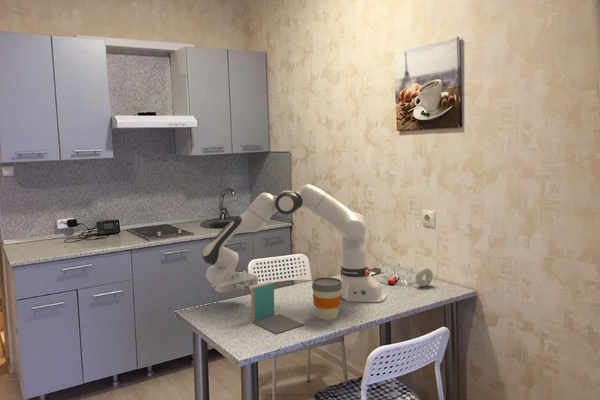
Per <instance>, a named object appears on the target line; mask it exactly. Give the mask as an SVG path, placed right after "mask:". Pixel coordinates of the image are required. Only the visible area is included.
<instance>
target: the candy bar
mask: <svg viewBox="0 0 600 400" xmlns="http://www.w3.org/2000/svg"><path fill="white" fill-rule="evenodd" d="M396 279H397V278H396V277H394V276H393V273H392V274H391V276H389V278H388V280H387V284H388V283H389V285H391V284H394V283H395V281H396ZM396 282H397V281H396ZM395 284H396V283H395ZM395 284H394V285H395Z"/></svg>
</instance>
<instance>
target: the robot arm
mask: <svg viewBox="0 0 600 400" xmlns="http://www.w3.org/2000/svg"><path fill="white" fill-rule="evenodd" d="M300 208H306V209H307V210H309V211H310V212H311V213H313V214H314V215H316V216H317V217H319V218H320V219H322V220H323V221H324V222H326V223H328V224H329V225H330V226H331V227H332V228H334V229H335V230H336V231H337V232H338V233H340V234H341V265H340V278H341V279H340V280H341V282H342V289H341V299H344V300H345V301H347V302H353V303H357V302H358V303H359V302H360V303H382V302H384V301H385V300H386V299H387V297H388V296H387V293H386V292H384V291H382V285H381V283H380V282H379V280H377V279H376V278H374V276H371V275H369V274H370V269H371V268H370V267H367V266H366V232H367V225H366V220H365V217H364V216H362V215H363V214H360V213H358V212H356V211H355V212H354V211H352V210H350V209H349V208H348V207H346V206H345V205H344V204H343V203H342V202H340V201H339V200H338V199H336V198H334V197H333V196H331V195H330V194H328V193H326V192H325V191H324V190H322V189H320V188H318V187H317V186H315V185H312V184H310V183H307V184H304V185H302V186H301V187H300V188H299V189H298V190H297V191H292V190H284V191H281V192H280V193H278V194H276V195H273V194H271V193H269V192H261V193H260V194H259V195H257V197H256V198H254V200H253V201H252V203H250V205H249V206H248V208H247V209H246V210H245V212H243V213H242V214H240V215H237V216H235V217H233V218H232V219H231V220H230V221H229V222H228V223H227V224H226V225H225V226H224V227H223V228H222V229H221V230H220V231H219V233H218V234H217V235H216V236H215V237H214V238H213V239H211V241H209V242H208V243H207V244H206V245H205V246H204V247H203V250H202V253H201V255H202V259H203V261H204V263H205V264H209V265H211V266H209V267H208V268H207V269H206V271H205V277H206V279H207V281H208V282H209V283H211V285H210V287H211V288H214V290H215V291H216V292H218V293H220V294H224V293H228V292H233V291H237V290H242V291H245V290H248V289H250V288H251V286H256V285H259V278H258V276H257V275H256V274H252V273H250V272H249V273H248V272H247V271H246V270H238V269H239V266H240V260H241V259H240V255H239V253H238V252H236V251H234V250H233V249H230V248H228V247H225V245H226V244H227V243H228V241H230V239H231V238H232V237H233V236H234V235H235V234H237V233H245V232H246V233H255V232H259V231H261V230H262V229H263V228H264V227H265V226H266V225H267V223H268V222H269V220H270V219H271V217H272V216H273V215H274V214H275V213H276V212H278V213H280V214H281V215H284V216H289V215H293V214H294V213H295V212H297V211H298V210H299V209H300Z"/></svg>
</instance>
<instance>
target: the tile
mask: <svg viewBox="0 0 600 400" xmlns="http://www.w3.org/2000/svg"><path fill="white" fill-rule="evenodd" d="M250 305H251V306H250V309H251V310H250V312H251V316H250V317H251V320H252V321H253V322H254V321H257V320H260V319H264V318H267V317H271V316H274V315H275V283H274V282H272V281H269V282H264V283H260V284H257V285H254V286H250Z"/></svg>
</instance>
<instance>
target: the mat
mask: <svg viewBox="0 0 600 400" xmlns="http://www.w3.org/2000/svg"><path fill="white" fill-rule="evenodd" d="M252 324H254V325H255V326H256V325H257V326H258V327H260V328H262V329H265V330H266V331H269V332H270V333H272V334H275V335H279V334H282V333H285V332H288V331H291V330H293V329H297V328H300V327H303V326H305V324H304V323H302V322H301V321H298V320H296V319H292V317H291V318H290V317H288V316H286V315H283V314H281V313H278V314H274V316H270V317H267V318H264V319H260V320H257V321H254V320H253V321H252Z"/></svg>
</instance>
